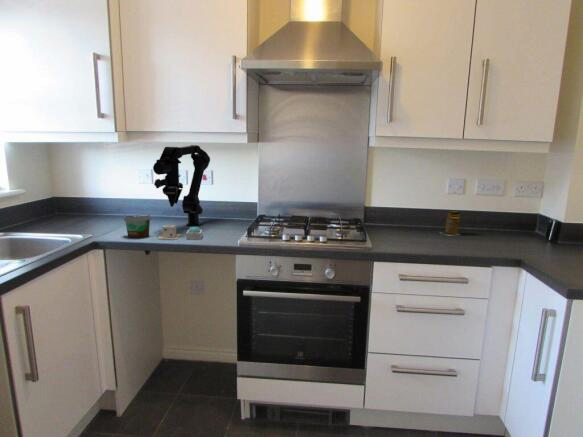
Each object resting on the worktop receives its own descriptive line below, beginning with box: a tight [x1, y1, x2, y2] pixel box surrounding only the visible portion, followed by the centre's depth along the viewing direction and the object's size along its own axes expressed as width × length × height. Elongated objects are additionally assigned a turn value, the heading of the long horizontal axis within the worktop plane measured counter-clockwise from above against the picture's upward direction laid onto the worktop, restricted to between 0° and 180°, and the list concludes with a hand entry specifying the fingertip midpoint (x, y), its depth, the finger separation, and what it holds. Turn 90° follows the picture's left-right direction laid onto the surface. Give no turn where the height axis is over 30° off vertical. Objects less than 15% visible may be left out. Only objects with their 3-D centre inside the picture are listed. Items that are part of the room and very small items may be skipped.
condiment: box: [438, 210, 462, 237], centre depth 192 cm, size 7×8×12 cm
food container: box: [123, 214, 152, 239], centre depth 170 cm, size 12×6×10 cm, turn 92°
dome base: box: [185, 229, 203, 240], centre depth 172 cm, size 6×6×3 cm
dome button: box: [188, 226, 200, 233], centre depth 172 cm, size 4×4×4 cm
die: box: [162, 224, 177, 238], centre depth 172 cm, size 5×5×5 cm
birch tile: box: [157, 233, 182, 240], centre depth 173 cm, size 9×9×1 cm
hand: (173, 205), depth 182 cm, fingers open, 9 cm apart
